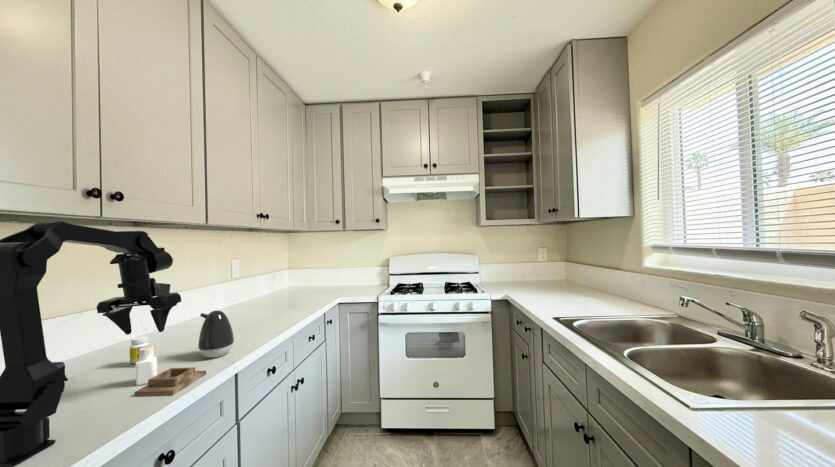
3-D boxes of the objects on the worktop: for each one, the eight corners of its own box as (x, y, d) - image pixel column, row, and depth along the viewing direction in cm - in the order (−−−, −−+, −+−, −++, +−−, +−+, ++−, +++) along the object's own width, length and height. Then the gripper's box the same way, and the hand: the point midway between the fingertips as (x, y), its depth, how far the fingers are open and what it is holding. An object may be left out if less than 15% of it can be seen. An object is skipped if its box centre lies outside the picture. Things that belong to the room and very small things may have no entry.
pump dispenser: (212, 349, 111) (211, 307, 111) (240, 349, 111) (239, 306, 111) (190, 361, 101) (189, 314, 101) (221, 360, 100) (220, 314, 100)
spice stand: (173, 395, 79) (173, 383, 79) (134, 396, 79) (134, 384, 79) (206, 374, 91) (206, 363, 91) (172, 374, 91) (172, 364, 91)
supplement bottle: (137, 367, 97) (137, 340, 97) (125, 366, 98) (125, 340, 98) (153, 361, 102) (152, 335, 102) (142, 360, 103) (141, 335, 103)
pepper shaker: (154, 382, 86) (153, 348, 86) (135, 386, 84) (134, 351, 84) (157, 377, 90) (157, 344, 90) (139, 380, 88) (138, 347, 88)
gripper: (191, 268, 91) (199, 319, 93) (130, 273, 92) (138, 323, 93) (159, 277, 80) (169, 335, 82) (89, 282, 81) (100, 340, 82)
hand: (145, 332), depth 85 cm, fingers open, 9 cm apart
